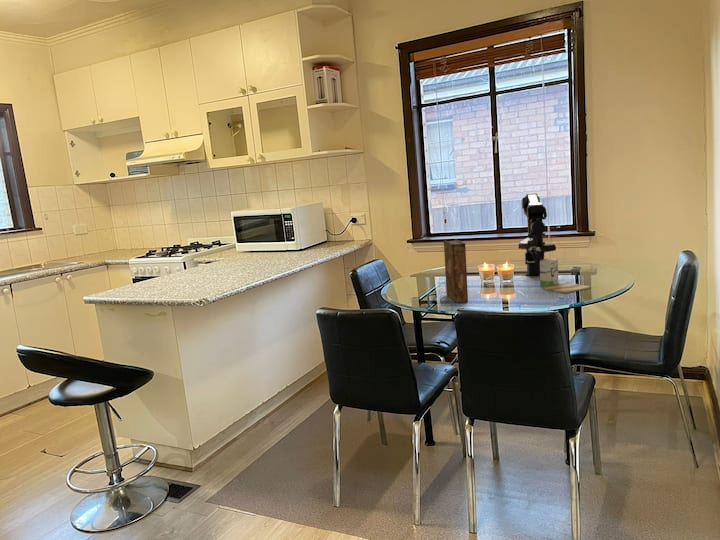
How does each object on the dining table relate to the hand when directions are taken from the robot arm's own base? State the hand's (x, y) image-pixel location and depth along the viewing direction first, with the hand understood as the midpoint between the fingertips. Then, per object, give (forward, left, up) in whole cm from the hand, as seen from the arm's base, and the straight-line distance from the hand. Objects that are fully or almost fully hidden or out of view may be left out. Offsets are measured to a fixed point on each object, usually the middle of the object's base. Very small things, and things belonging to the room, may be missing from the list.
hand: (537, 264), depth 251 cm
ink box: (+7, 0, -9) cm, 11 cm away
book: (0, -45, -9) cm, 46 cm away
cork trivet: (+18, 0, -8) cm, 20 cm away
